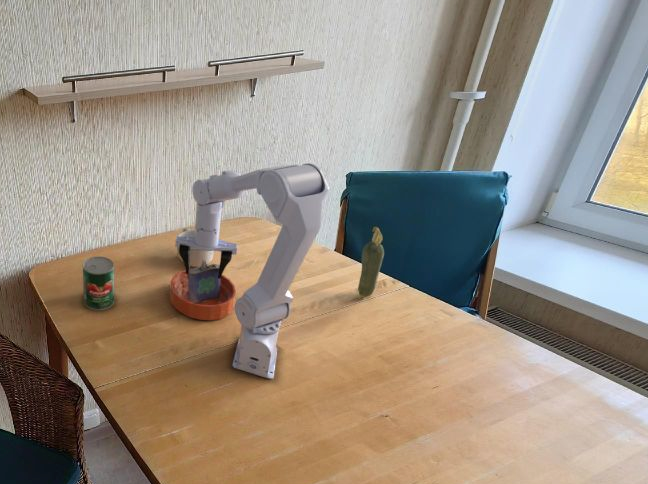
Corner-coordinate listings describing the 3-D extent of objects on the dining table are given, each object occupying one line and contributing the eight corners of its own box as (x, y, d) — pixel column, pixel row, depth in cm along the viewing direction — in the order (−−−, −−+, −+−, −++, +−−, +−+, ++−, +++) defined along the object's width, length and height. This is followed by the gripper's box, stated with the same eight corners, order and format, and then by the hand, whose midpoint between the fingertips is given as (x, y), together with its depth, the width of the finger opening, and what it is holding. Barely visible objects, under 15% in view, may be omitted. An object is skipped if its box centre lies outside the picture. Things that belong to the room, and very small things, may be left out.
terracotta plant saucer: (227, 329, 100) (229, 313, 98) (161, 310, 106) (162, 295, 105) (238, 291, 113) (240, 277, 111) (179, 277, 120) (180, 263, 118)
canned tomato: (103, 288, 116) (102, 253, 112) (120, 303, 109) (120, 266, 105) (78, 298, 112) (76, 262, 108) (94, 314, 105) (93, 277, 101)
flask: (190, 305, 107) (191, 267, 103) (184, 299, 109) (185, 262, 106) (222, 297, 109) (224, 260, 106) (215, 292, 112) (217, 255, 109)
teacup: (216, 271, 122) (218, 247, 119) (178, 272, 122) (180, 247, 119) (205, 246, 135) (207, 224, 132) (171, 247, 135) (172, 224, 132)
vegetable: (374, 304, 107) (393, 234, 99) (355, 302, 107) (372, 232, 100) (368, 294, 111) (385, 225, 103) (349, 292, 111) (365, 224, 104)
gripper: (239, 222, 103) (234, 269, 108) (179, 215, 107) (176, 261, 112) (239, 235, 97) (233, 285, 102) (175, 227, 101) (172, 276, 106)
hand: (203, 274), depth 107 cm, fingers open, 7 cm apart
